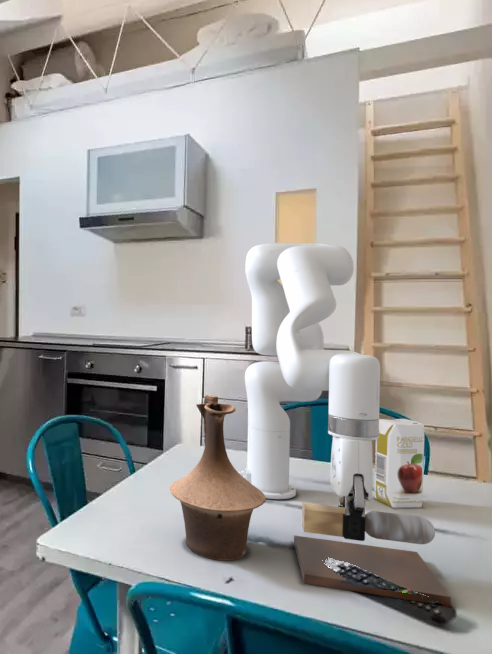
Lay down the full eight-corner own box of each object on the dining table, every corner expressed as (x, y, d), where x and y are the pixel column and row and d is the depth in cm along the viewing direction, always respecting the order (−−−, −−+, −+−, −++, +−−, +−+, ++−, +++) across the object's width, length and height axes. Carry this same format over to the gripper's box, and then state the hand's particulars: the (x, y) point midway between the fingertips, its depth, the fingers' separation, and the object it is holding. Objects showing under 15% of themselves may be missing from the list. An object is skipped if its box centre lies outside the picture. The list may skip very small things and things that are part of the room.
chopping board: (303, 583, 88) (304, 574, 88) (293, 543, 103) (293, 535, 103) (450, 606, 81) (451, 596, 81) (416, 560, 96) (417, 551, 96)
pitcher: (160, 526, 110) (162, 389, 109) (245, 528, 109) (248, 390, 109) (179, 568, 92) (181, 404, 92) (280, 570, 92) (283, 406, 91)
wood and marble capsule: (304, 533, 93) (304, 507, 93) (301, 523, 97) (301, 499, 97) (439, 550, 86) (439, 523, 86) (429, 539, 91) (430, 513, 91)
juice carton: (369, 497, 128) (371, 417, 128) (403, 496, 129) (405, 417, 129) (392, 509, 121) (394, 424, 120) (428, 508, 122) (430, 424, 121)
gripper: (321, 416, 101) (319, 514, 101) (337, 435, 86) (334, 551, 86) (366, 419, 99) (365, 519, 99) (391, 439, 83) (389, 558, 83)
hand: (351, 533), depth 92 cm, fingers closed on wood and marble capsule, 3 cm apart
